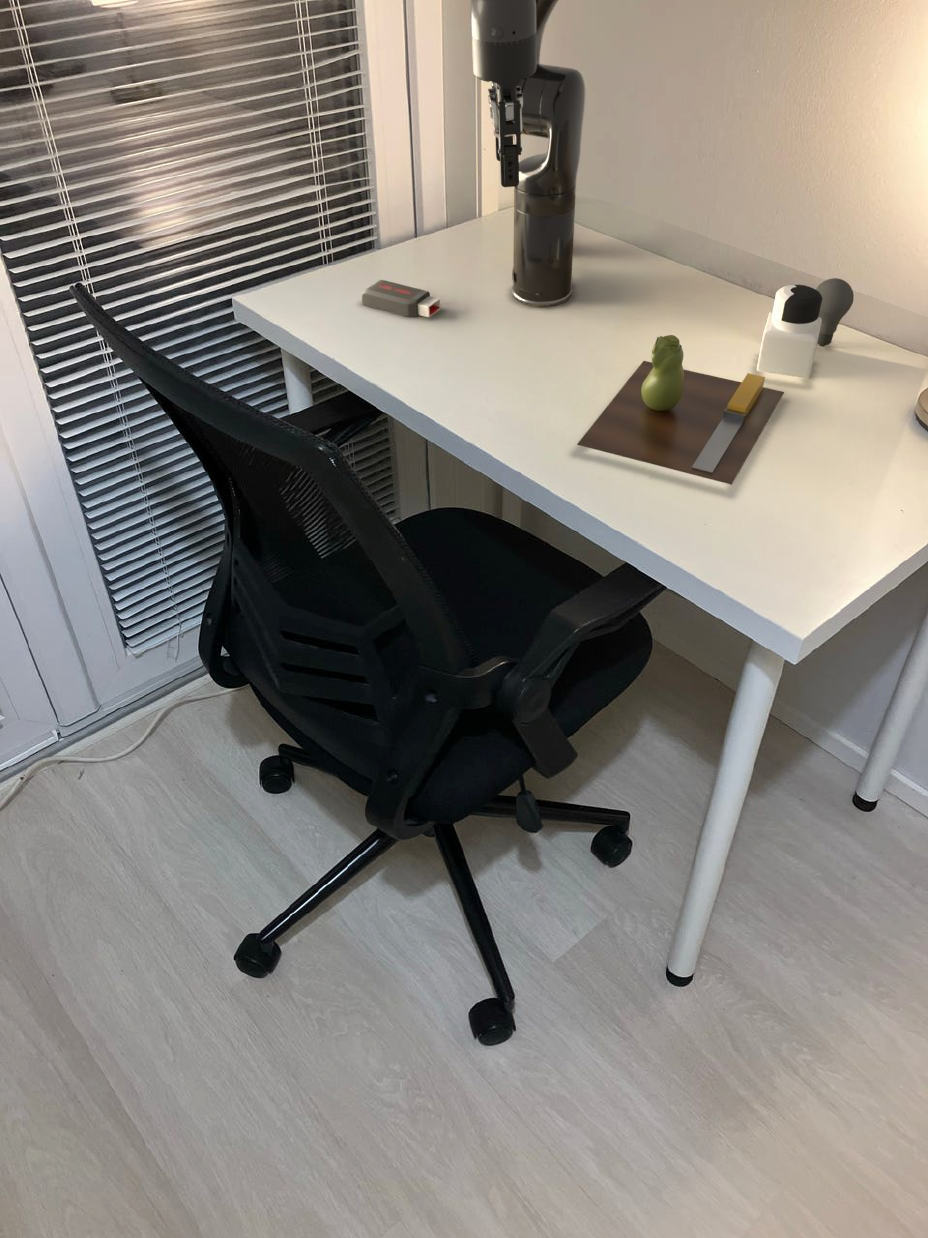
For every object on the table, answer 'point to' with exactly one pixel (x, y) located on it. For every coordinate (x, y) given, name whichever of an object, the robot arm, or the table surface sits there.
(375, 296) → the usb drive
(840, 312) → the light bulb
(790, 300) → the medicine bottle
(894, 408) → the table surface
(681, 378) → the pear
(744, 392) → the knife
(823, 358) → the table surface
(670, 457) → the cutting board
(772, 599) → the table surface
